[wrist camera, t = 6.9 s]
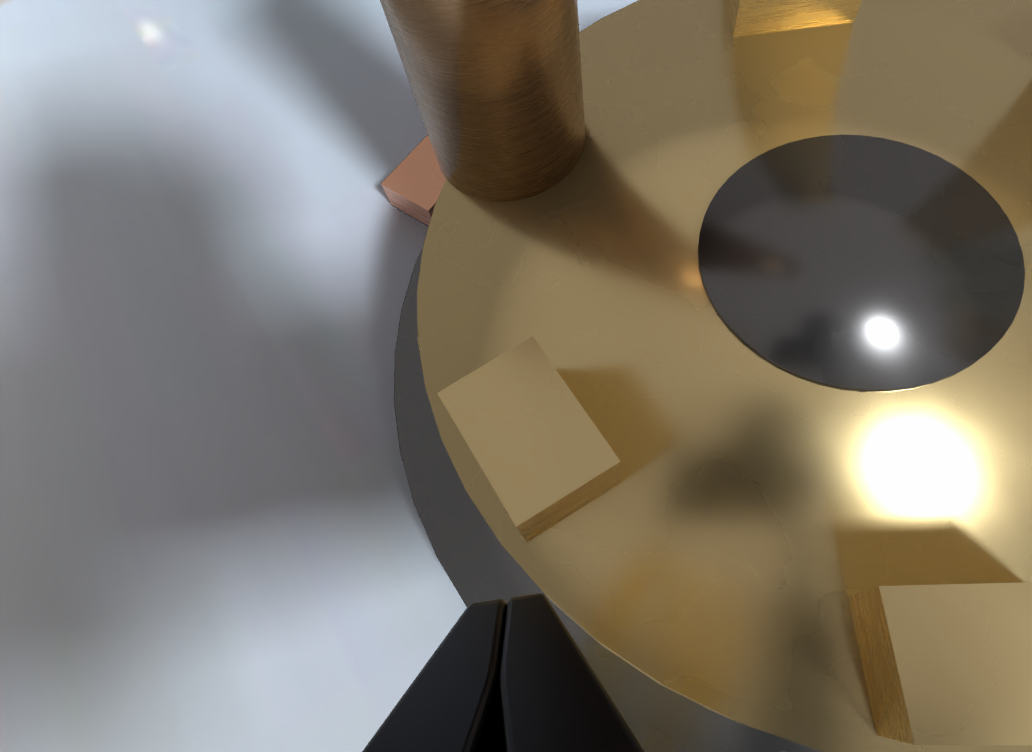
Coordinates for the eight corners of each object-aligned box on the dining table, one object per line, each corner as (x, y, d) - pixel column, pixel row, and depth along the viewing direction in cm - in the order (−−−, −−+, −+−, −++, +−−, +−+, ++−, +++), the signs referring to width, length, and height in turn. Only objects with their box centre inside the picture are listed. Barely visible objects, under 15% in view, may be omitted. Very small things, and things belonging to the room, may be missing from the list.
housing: (1067, 1130, 11) (1130, 1195, 10) (206, 402, 19) (175, 382, 18) (1403, 247, 16) (1475, 208, 15) (609, -30, 24) (609, -72, 23)
